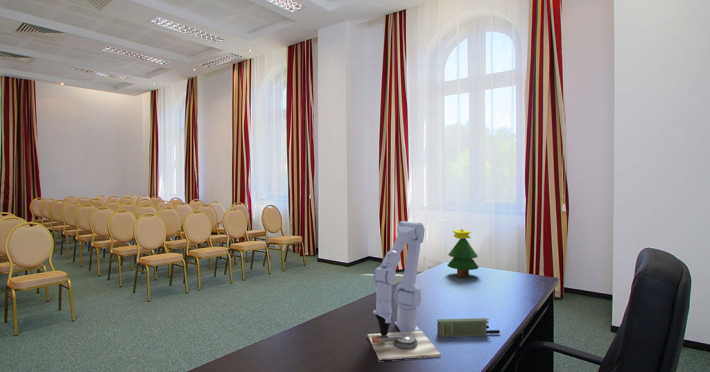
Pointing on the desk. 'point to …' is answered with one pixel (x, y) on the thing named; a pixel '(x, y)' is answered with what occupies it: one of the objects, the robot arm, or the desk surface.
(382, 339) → the frying pan
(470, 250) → the decorative tree
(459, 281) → the desk surface
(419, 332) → the board
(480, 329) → the handheld radio
